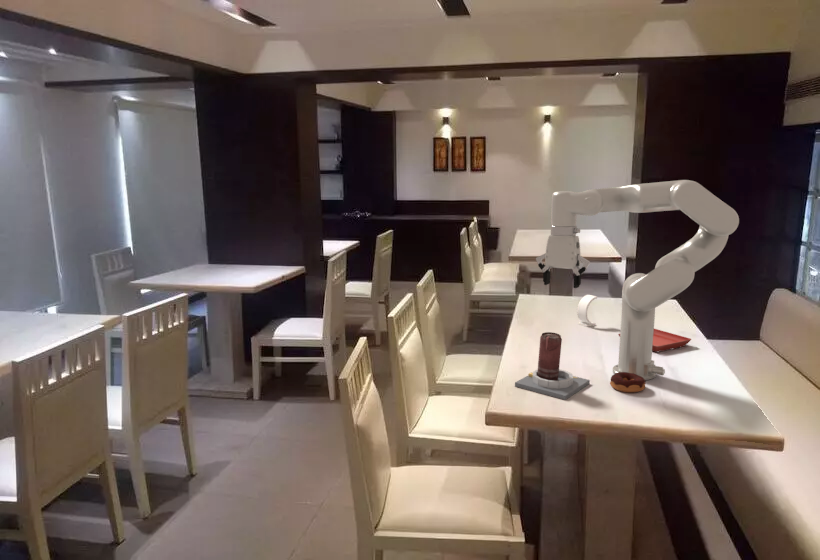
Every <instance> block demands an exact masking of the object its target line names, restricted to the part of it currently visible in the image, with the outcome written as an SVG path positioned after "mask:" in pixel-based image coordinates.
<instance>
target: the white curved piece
mask: <svg viewBox="0 0 820 560" xmlns="http://www.w3.org/2000/svg"><path fill="white" fill-rule="evenodd" d="M597 299H598V296H596V295H592V294H585V295H583V297H582V298H580V301H579V302H578V304H577V309H576V310H577V311H576V313H577V318H578V319H579V321H578V324H577V325H579V326H583V327H586V328H588V327H593V326H596V325H597V324H596V323H595V322H592V321H590V320H589V318H588V309H589V306H590V304H591V303H592V302H593V301H594V300H597Z"/></svg>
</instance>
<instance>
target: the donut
mask: <svg viewBox="0 0 820 560" xmlns="http://www.w3.org/2000/svg"><path fill="white" fill-rule="evenodd" d="M609 384H610V386H611V387H612V388H613V389H615V390H617V391H619V392H622V393H638V392H642V391H643V390H644V389H645V388H646V380H645V379H644V378H643V377H641V376H639V375H636V374H634V373H627V372H619V373H615V374H614V373H613V375H611V377H610V381H609Z"/></svg>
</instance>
